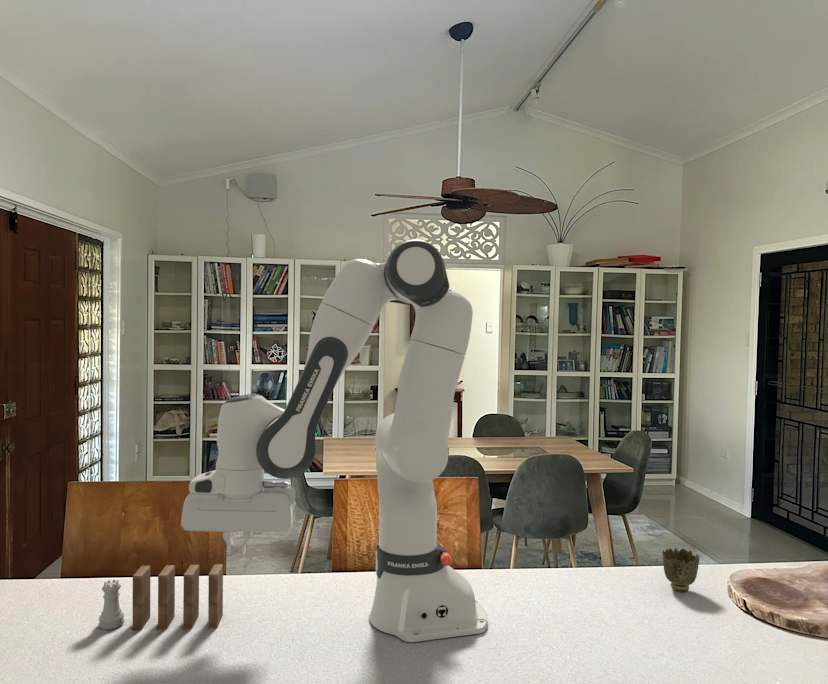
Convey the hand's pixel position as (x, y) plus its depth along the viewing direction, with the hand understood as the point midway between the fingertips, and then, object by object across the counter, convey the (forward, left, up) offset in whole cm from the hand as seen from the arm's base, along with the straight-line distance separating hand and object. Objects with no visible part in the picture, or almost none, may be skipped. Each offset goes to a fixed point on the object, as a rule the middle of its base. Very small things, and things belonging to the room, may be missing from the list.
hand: (236, 553), depth 121 cm
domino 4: (+4, 0, -13) cm, 13 cm away
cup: (-92, -9, -13) cm, 94 cm away
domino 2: (+13, 0, -13) cm, 18 cm away
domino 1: (+17, 0, -13) cm, 22 cm away
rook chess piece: (+23, 0, -13) cm, 26 cm away
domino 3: (+8, 0, -13) cm, 15 cm away
